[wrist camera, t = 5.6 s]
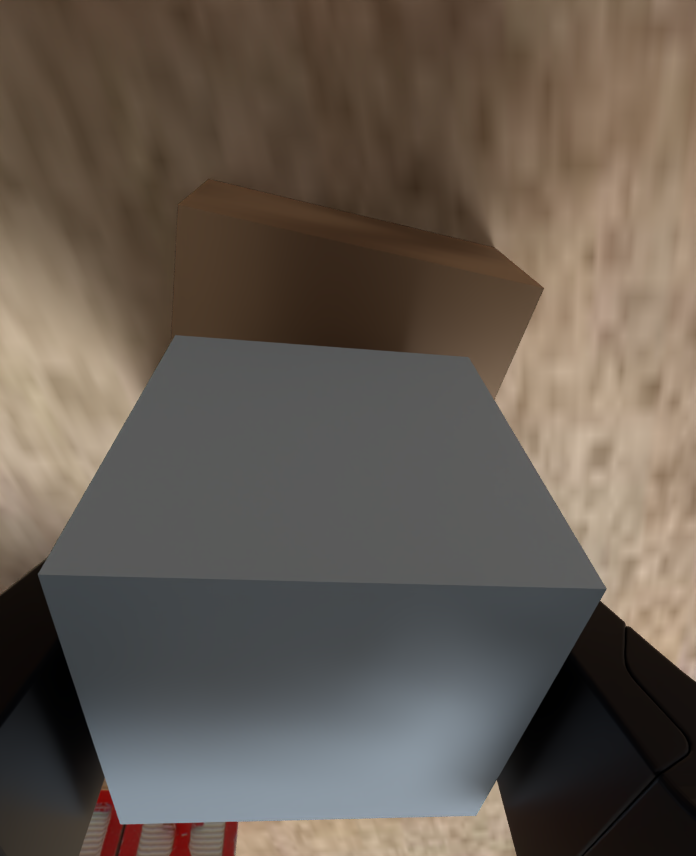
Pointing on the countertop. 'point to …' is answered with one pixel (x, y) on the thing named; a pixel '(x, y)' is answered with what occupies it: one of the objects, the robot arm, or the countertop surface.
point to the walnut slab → (342, 281)
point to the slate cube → (313, 588)
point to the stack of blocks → (154, 835)
